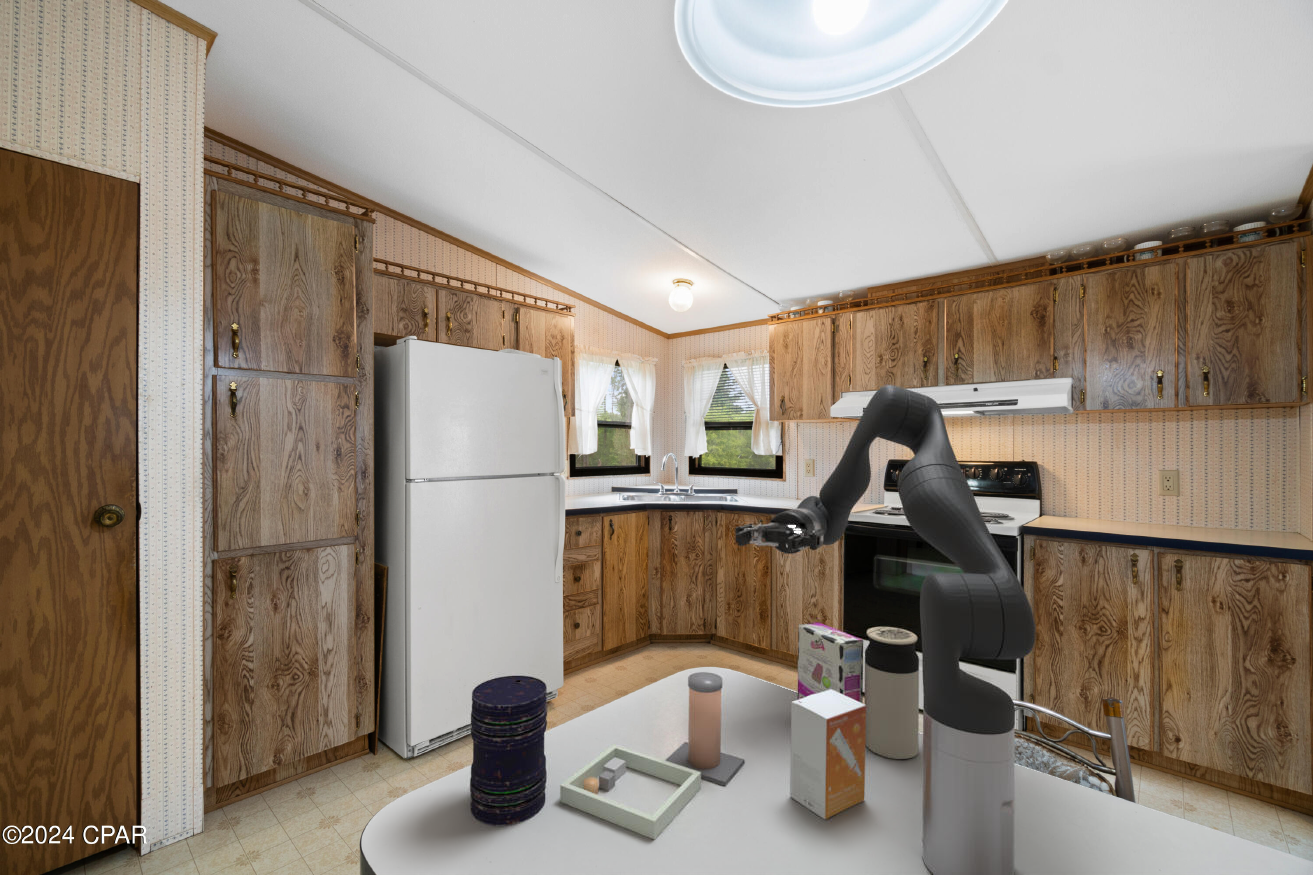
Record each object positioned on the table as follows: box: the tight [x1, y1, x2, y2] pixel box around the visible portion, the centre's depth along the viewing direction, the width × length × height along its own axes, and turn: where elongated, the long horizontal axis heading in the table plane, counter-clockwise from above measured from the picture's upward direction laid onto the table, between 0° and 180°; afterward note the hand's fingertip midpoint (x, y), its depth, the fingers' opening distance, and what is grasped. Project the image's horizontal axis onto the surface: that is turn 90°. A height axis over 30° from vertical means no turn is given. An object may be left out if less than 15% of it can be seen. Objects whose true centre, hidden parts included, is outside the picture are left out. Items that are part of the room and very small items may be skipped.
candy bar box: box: [796, 622, 864, 704], centre depth 101 cm, size 11×5×16 cm, turn 25°
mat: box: [665, 741, 745, 787], centre depth 89 cm, size 10×7×1 cm
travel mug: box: [864, 626, 920, 760], centre depth 95 cm, size 8×8×18 cm
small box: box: [789, 689, 866, 820], centre depth 81 cm, size 8×6×13 cm
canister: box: [687, 671, 723, 769], centre depth 89 cm, size 5×5×12 cm
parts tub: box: [559, 743, 702, 840], centre depth 81 cm, size 15×13×2 cm
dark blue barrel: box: [469, 675, 548, 827], centre depth 79 cm, size 10×10×15 cm
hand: (764, 542), depth 96 cm, fingers open, 8 cm apart
